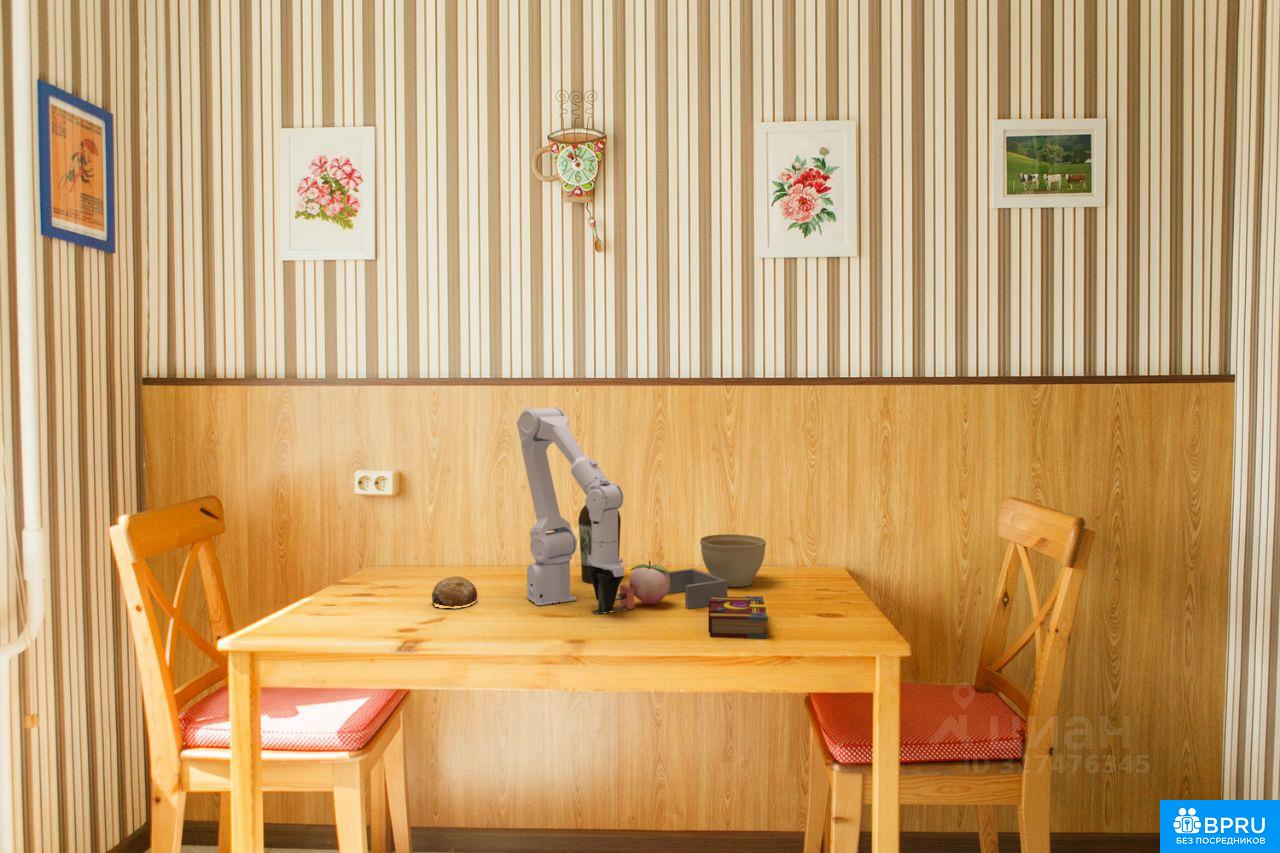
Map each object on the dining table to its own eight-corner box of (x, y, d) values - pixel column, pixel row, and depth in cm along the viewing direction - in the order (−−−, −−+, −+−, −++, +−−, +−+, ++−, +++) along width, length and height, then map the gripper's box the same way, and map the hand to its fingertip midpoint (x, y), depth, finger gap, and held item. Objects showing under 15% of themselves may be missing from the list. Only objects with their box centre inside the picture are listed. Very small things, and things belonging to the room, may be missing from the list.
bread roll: (428, 620, 176) (417, 592, 172) (456, 591, 184) (445, 564, 180) (462, 626, 171) (451, 597, 168) (489, 596, 179) (479, 568, 176)
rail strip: (595, 614, 166) (595, 613, 166) (590, 612, 168) (590, 610, 168) (632, 609, 170) (632, 607, 170) (627, 606, 172) (627, 605, 172)
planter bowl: (745, 595, 180) (745, 548, 180) (687, 585, 190) (687, 541, 190) (777, 581, 193) (777, 538, 193) (722, 572, 203) (721, 531, 203)
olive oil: (610, 572, 204) (608, 478, 203) (628, 581, 195) (627, 482, 194) (572, 577, 199) (571, 480, 198) (589, 586, 190) (588, 484, 189)
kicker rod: (602, 612, 166) (602, 584, 165) (595, 608, 169) (595, 581, 169) (634, 607, 169) (633, 580, 169) (626, 603, 172) (626, 576, 172)
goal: (688, 609, 169) (688, 586, 169) (656, 594, 182) (656, 573, 182) (727, 602, 174) (727, 580, 174) (693, 588, 187) (693, 568, 186)
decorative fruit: (675, 601, 176) (674, 557, 175) (666, 611, 168) (666, 565, 167) (635, 598, 178) (634, 555, 178) (625, 608, 170) (624, 563, 170)
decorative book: (708, 638, 150) (708, 613, 150) (709, 614, 166) (709, 591, 166) (767, 640, 149) (767, 614, 148) (763, 615, 165) (763, 592, 164)
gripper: (636, 544, 163) (637, 608, 163) (607, 533, 176) (608, 592, 176) (606, 547, 159) (607, 613, 160) (578, 536, 172) (579, 597, 173)
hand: (605, 602), depth 168 cm, fingers closed on kicker rod, 3 cm apart
